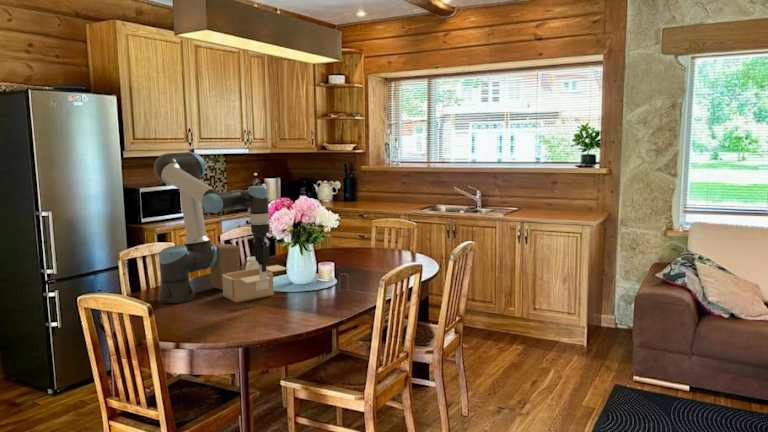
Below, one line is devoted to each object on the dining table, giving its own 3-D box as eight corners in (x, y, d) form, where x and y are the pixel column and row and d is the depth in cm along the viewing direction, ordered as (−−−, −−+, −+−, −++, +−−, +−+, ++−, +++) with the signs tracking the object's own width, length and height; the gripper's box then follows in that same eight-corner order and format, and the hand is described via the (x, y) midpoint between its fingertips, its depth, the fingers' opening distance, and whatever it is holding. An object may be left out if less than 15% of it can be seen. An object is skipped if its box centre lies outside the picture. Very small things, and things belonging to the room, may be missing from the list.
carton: (234, 303, 250) (233, 280, 249) (220, 296, 262) (219, 274, 261) (274, 295, 261) (273, 273, 260) (259, 288, 273) (258, 267, 272)
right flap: (287, 268, 267) (287, 269, 267) (277, 264, 275) (277, 266, 275) (271, 271, 262) (271, 272, 262) (262, 267, 270) (262, 268, 270)
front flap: (239, 278, 250) (239, 279, 250) (246, 282, 245) (246, 283, 245) (263, 274, 257) (263, 275, 257) (270, 278, 251) (270, 279, 251)
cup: (267, 276, 298) (266, 256, 296) (253, 281, 287) (252, 261, 286) (254, 275, 301) (253, 255, 300) (239, 280, 290) (238, 260, 289)
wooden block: (239, 287, 276) (240, 246, 274) (220, 290, 269) (221, 247, 267) (228, 284, 283) (229, 243, 281) (209, 286, 275) (210, 244, 274)
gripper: (275, 223, 238) (278, 280, 241) (261, 220, 248) (264, 274, 251) (258, 225, 233) (261, 283, 237) (245, 222, 244) (248, 277, 247)
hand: (263, 278), depth 244 cm, fingers closed
